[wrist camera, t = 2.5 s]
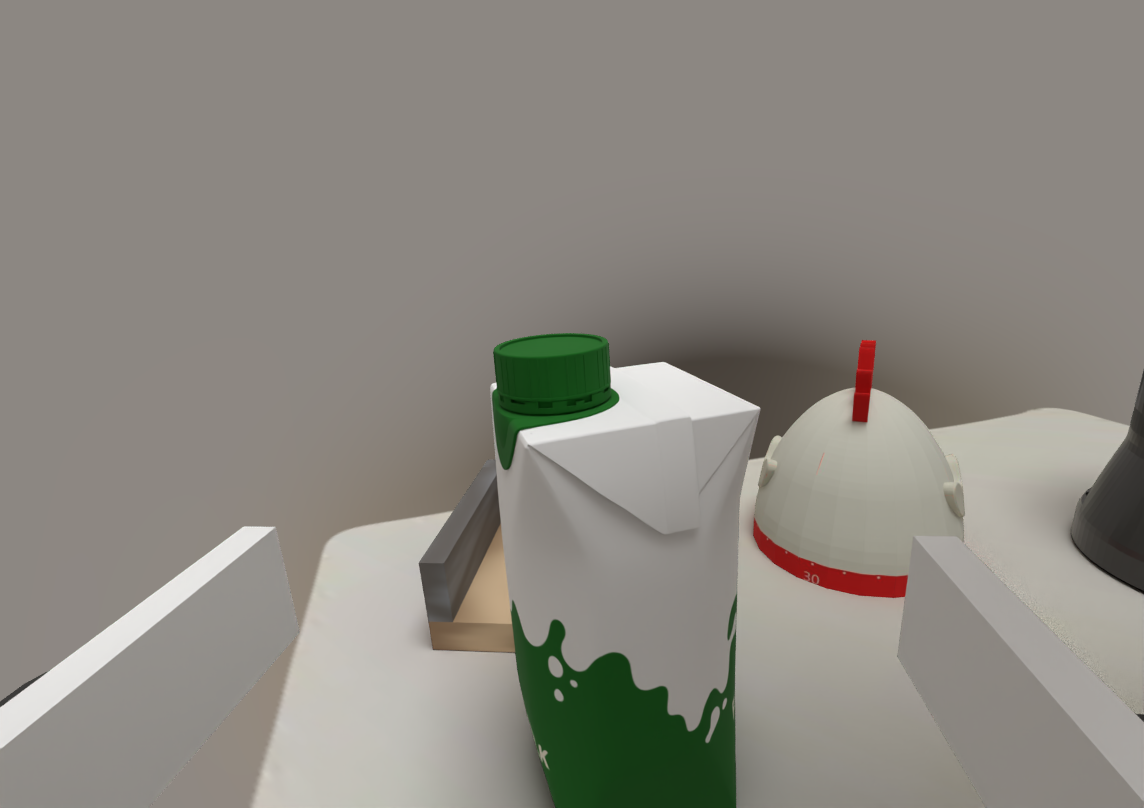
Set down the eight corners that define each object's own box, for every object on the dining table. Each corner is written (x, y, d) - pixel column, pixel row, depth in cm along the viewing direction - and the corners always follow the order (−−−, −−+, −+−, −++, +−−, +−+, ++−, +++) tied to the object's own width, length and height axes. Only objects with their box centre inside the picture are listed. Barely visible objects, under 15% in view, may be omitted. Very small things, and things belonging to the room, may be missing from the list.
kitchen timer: (952, 515, 45) (979, 329, 41) (971, 621, 34) (1013, 377, 30) (770, 488, 52) (777, 325, 47) (735, 569, 40) (739, 363, 36)
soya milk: (515, 719, 29) (468, 332, 23) (676, 674, 31) (672, 309, 25) (557, 904, 21) (503, 382, 15) (772, 826, 23) (798, 343, 17)
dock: (686, 525, 46) (685, 457, 45) (703, 659, 32) (703, 567, 30) (495, 524, 49) (487, 459, 47) (433, 649, 34) (418, 562, 33)
